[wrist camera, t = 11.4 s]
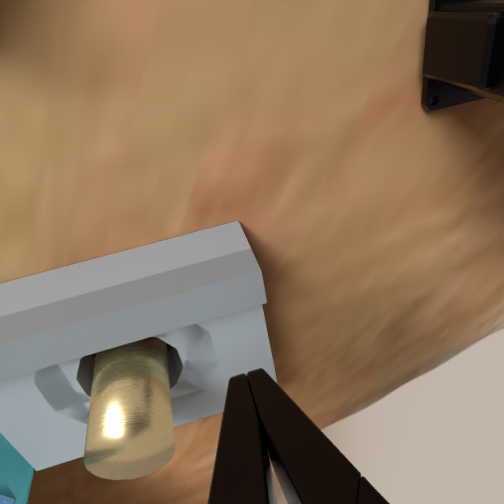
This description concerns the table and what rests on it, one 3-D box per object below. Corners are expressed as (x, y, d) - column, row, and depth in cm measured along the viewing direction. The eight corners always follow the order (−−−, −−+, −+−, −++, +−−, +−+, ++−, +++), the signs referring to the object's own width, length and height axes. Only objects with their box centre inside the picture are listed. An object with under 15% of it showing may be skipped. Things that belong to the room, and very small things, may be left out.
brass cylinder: (154, 301, 24) (160, 416, 17) (172, 345, 26) (184, 462, 19) (87, 319, 23) (68, 445, 17) (111, 363, 25) (103, 489, 19)
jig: (238, 220, 22) (261, 270, 18) (267, 360, 29) (288, 419, 25) (-60, 299, 20) (-110, 374, 16) (45, 428, 27) (29, 504, 23)
